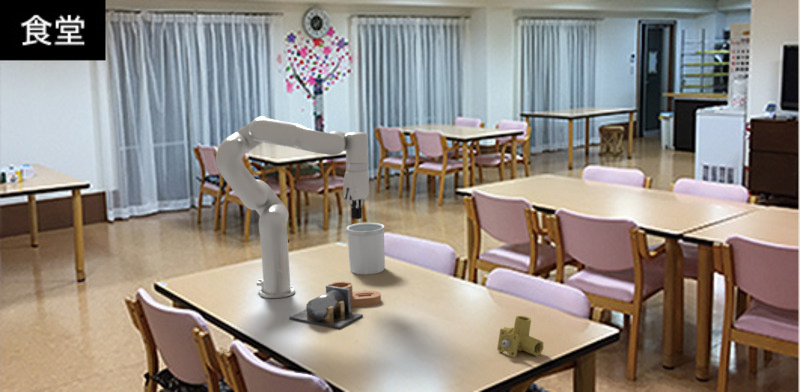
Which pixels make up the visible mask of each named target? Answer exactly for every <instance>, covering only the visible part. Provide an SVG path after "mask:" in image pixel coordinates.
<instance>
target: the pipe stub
mask: <svg viewBox="0 0 800 392" xmlns="http://www.w3.org/2000/svg"><path fill="white" fill-rule="evenodd" d="M305 305H306V308H305V309H304V310H301V311H299V312H298V313H295V314H293V315H290V316H289V317H288V319H289V320H291V321H297V322H300V323H306V324H311V325H315V326H321V327H326V328H332V329H337V330H341V329H343V328H344V327H346V326H348V325H350V324H352V323H354V322H356V321H357V320H359V319H361V318H363V316H364V314H363V313H356V312H352V307H351V302H350V289H348V288H342V287H335V286H329V285H326V286H325V293H324V294H321V295H319V296H317V297H315V298H313V299H311V300H309V301H308V302H307V303H306V304H305Z"/></svg>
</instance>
